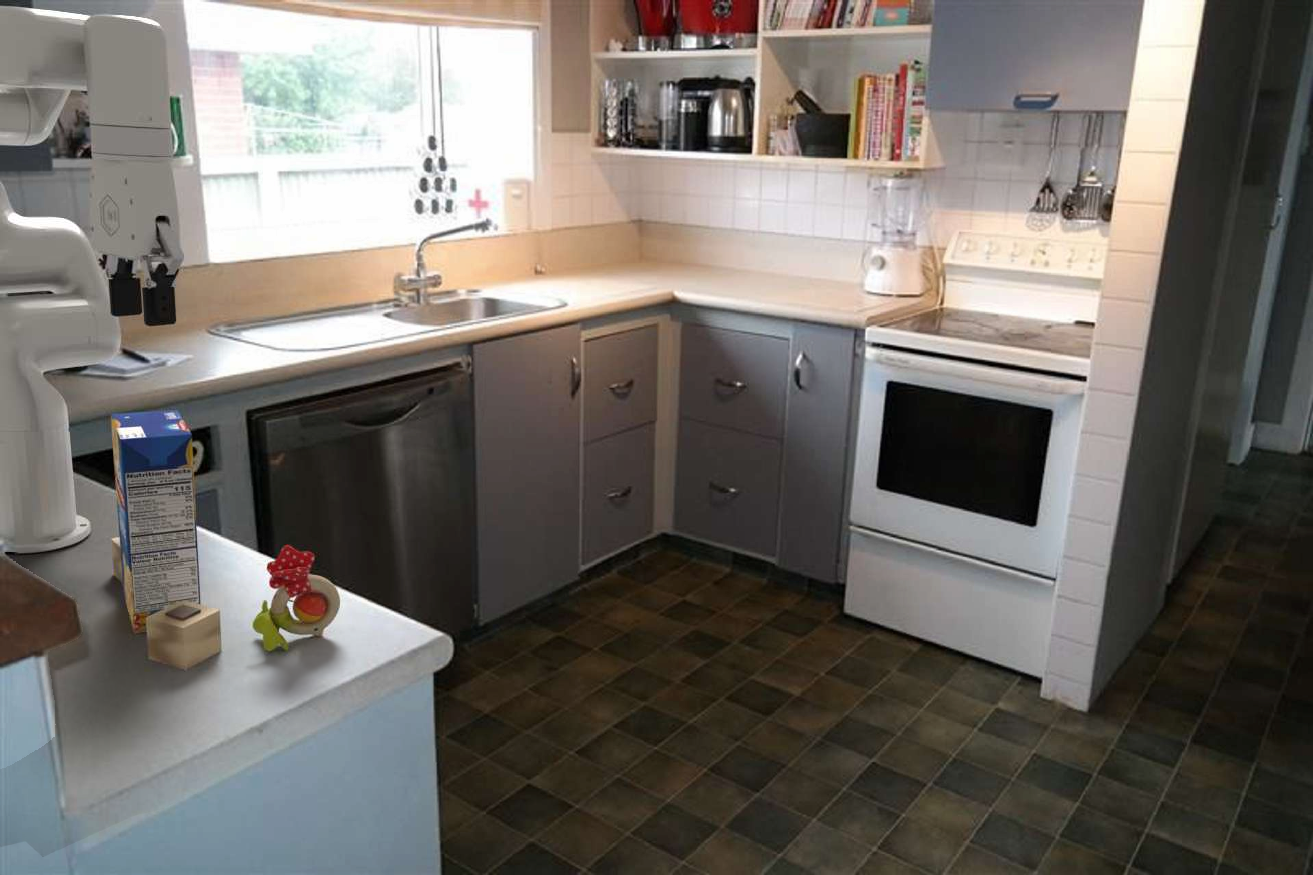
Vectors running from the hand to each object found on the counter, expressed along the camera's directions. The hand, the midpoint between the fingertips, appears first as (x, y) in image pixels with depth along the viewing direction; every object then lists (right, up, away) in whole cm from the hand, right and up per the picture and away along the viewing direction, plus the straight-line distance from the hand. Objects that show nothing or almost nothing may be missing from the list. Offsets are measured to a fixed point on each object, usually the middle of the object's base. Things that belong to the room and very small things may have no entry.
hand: (143, 318), depth 114 cm
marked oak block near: (+5, -36, -1) cm, 36 cm away
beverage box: (-2, -33, +9) cm, 34 cm away
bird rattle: (+15, -35, +4) cm, 38 cm away
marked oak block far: (-8, -30, +17) cm, 35 cm away
